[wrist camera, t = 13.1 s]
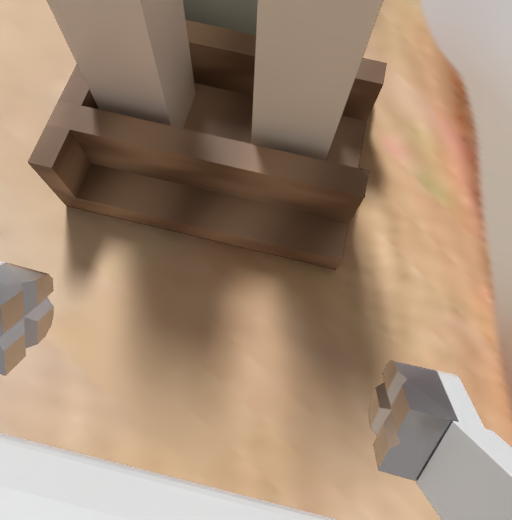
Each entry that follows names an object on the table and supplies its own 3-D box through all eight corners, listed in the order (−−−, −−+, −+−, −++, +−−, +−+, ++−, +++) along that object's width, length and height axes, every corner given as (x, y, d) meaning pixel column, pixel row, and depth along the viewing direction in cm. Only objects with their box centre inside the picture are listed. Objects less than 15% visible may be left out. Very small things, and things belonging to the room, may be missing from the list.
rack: (65, 205, 23) (27, 162, 19) (139, 40, 28) (120, -25, 24) (335, 269, 23) (357, 239, 19) (367, 90, 27) (391, 33, 23)
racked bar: (110, 132, 23) (-11, -119, 12) (132, 79, 25) (43, -192, 13) (176, 147, 23) (117, -93, 12) (195, 93, 25) (158, -169, 13)
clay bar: (250, 164, 23) (260, -63, 12) (265, 109, 24) (288, -143, 13) (318, 180, 23) (395, -35, 12) (330, 123, 24) (410, -119, 13)
